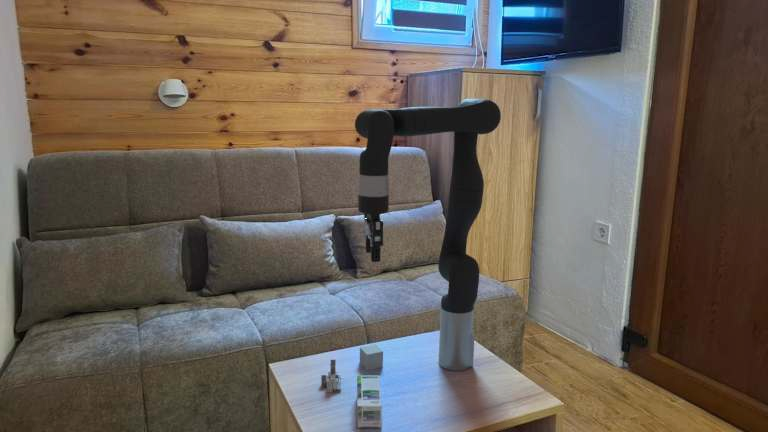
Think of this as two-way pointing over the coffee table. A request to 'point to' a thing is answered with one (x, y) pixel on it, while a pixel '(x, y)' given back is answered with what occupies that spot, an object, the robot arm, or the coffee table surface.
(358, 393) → the syrup box
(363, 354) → the grey block
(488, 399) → the coffee table surface
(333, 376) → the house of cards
